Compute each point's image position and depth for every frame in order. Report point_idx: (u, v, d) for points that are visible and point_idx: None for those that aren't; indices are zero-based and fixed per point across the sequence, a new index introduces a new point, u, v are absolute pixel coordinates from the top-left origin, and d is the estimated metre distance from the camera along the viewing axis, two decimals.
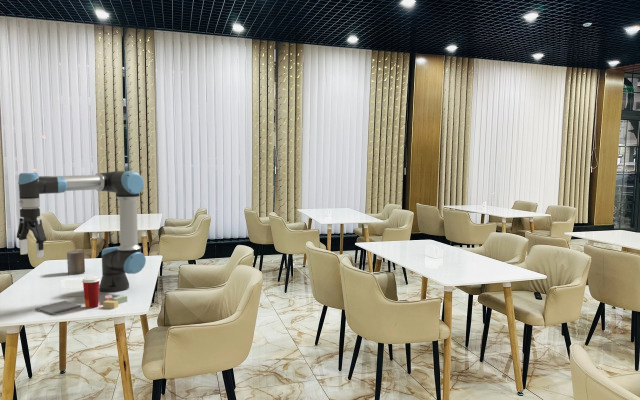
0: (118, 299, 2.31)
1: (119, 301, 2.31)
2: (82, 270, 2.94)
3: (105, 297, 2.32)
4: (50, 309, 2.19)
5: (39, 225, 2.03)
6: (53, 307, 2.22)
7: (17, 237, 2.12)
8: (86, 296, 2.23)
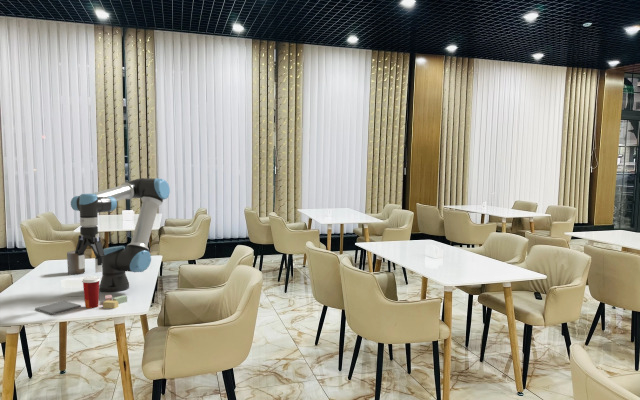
0: (118, 299, 2.31)
1: (119, 301, 2.31)
2: (82, 270, 2.94)
3: (105, 297, 2.32)
4: (50, 309, 2.19)
5: (98, 242, 2.20)
6: (53, 307, 2.22)
7: (75, 253, 2.28)
8: (86, 296, 2.23)
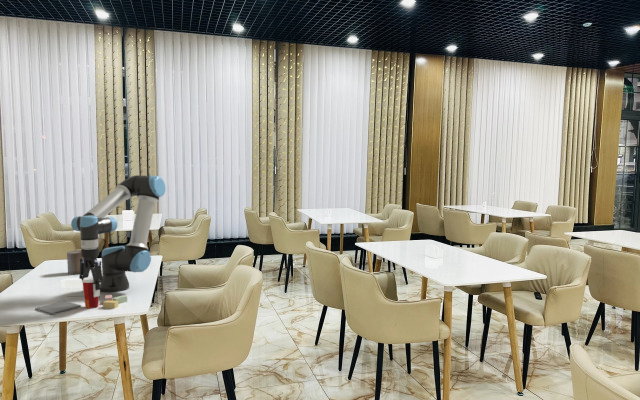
0: (118, 299, 2.31)
1: (119, 301, 2.32)
2: None
3: (105, 297, 2.32)
4: (50, 309, 2.19)
5: (98, 267, 2.22)
6: (53, 307, 2.22)
7: (80, 278, 2.28)
8: (86, 296, 2.23)
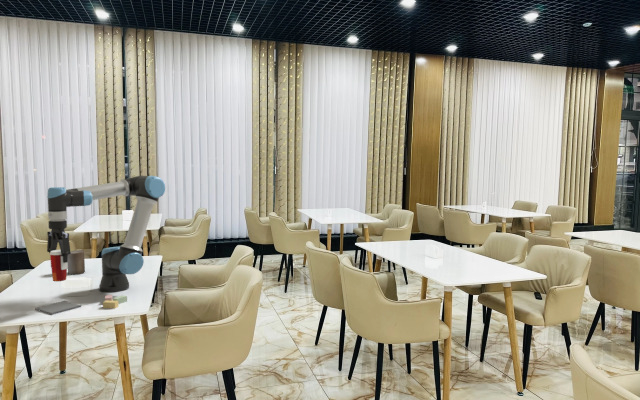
0: (119, 299, 2.31)
1: (120, 301, 2.32)
2: (82, 270, 2.94)
3: (105, 297, 2.33)
4: (50, 309, 2.19)
5: (66, 239, 2.18)
6: (53, 307, 2.22)
7: (48, 251, 2.24)
8: (53, 269, 2.19)
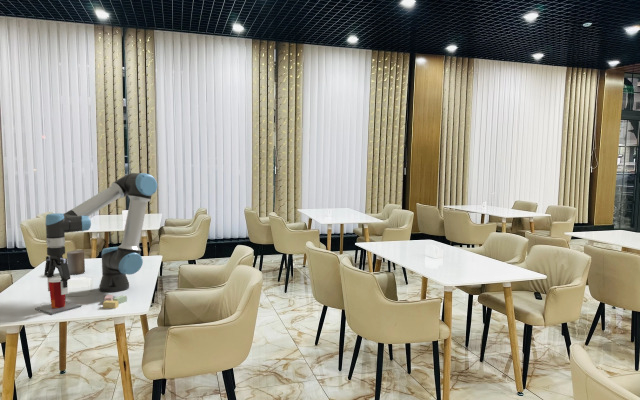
0: (119, 299, 2.31)
1: (120, 301, 2.32)
2: (82, 270, 2.94)
3: (105, 297, 2.33)
4: (50, 309, 2.19)
5: (64, 264, 2.19)
6: None
7: (45, 275, 2.26)
8: (52, 296, 2.21)
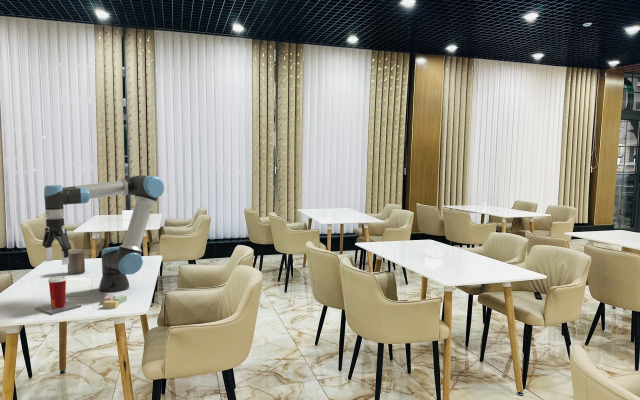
0: (120, 299, 2.31)
1: (120, 301, 2.32)
2: (82, 270, 2.94)
3: (105, 297, 2.33)
4: (50, 309, 2.19)
5: (64, 234, 2.17)
6: None
7: (43, 245, 2.26)
8: (52, 296, 2.21)
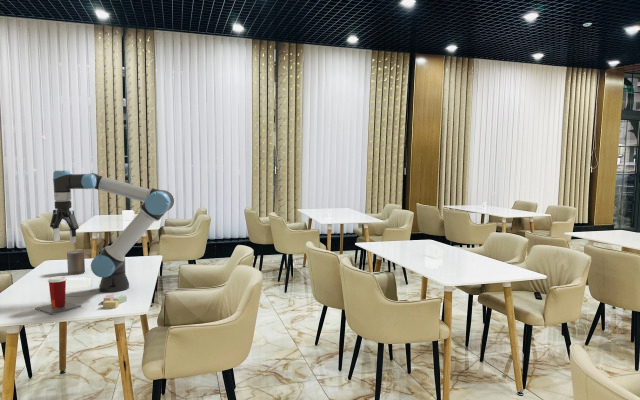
0: (120, 299, 2.31)
1: (120, 301, 2.32)
2: (82, 270, 2.94)
3: (105, 297, 2.33)
4: (50, 309, 2.19)
5: (72, 215, 2.37)
6: None
7: (50, 226, 2.44)
8: (52, 296, 2.21)
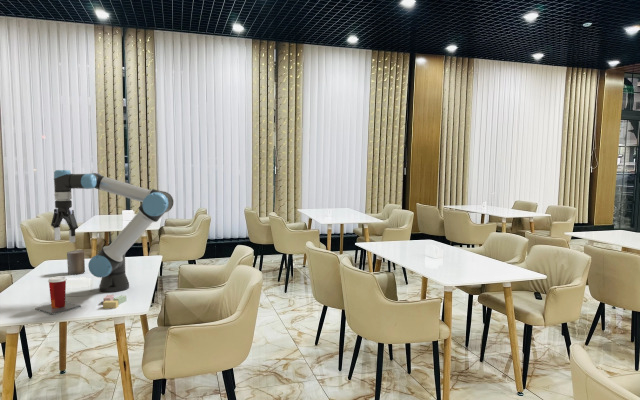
0: (120, 299, 2.31)
1: (121, 301, 2.32)
2: (82, 270, 2.94)
3: (105, 297, 2.33)
4: (50, 309, 2.19)
5: (71, 215, 2.38)
6: None
7: (51, 225, 2.46)
8: (52, 296, 2.21)
